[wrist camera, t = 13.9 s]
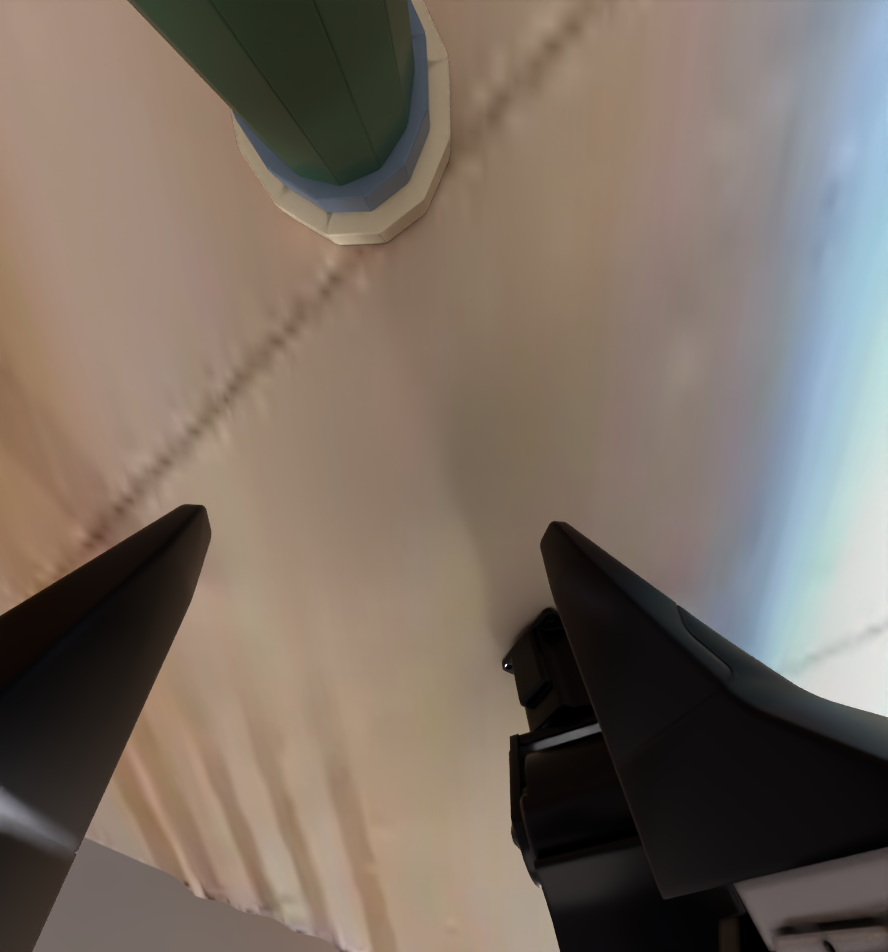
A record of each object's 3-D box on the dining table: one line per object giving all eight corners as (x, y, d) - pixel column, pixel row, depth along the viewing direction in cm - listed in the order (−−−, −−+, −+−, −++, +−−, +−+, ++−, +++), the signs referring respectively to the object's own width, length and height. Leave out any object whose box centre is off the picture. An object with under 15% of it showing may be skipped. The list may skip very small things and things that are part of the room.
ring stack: (486, 72, 14) (497, 1, 11) (397, 280, 17) (386, 269, 14) (287, -76, 13) (237, -207, 10) (226, 178, 16) (172, 140, 13)
